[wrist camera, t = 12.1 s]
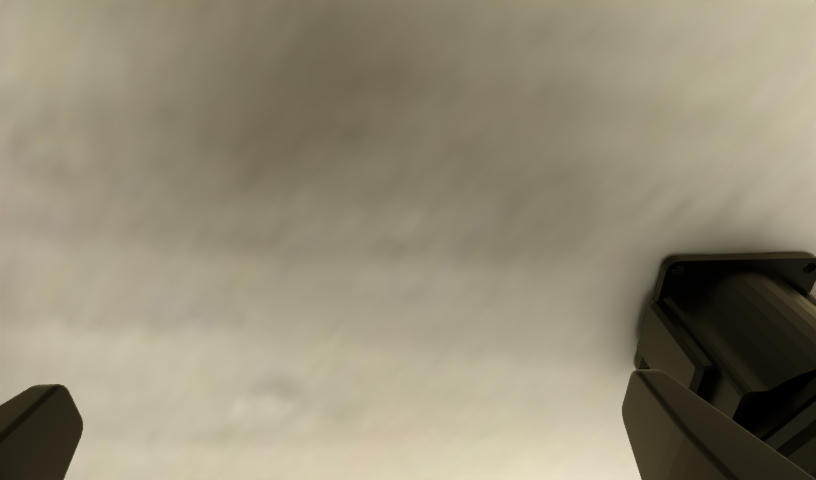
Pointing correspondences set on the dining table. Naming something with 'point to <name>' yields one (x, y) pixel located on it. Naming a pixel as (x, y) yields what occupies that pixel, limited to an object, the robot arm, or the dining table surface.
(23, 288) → the dining table surface
